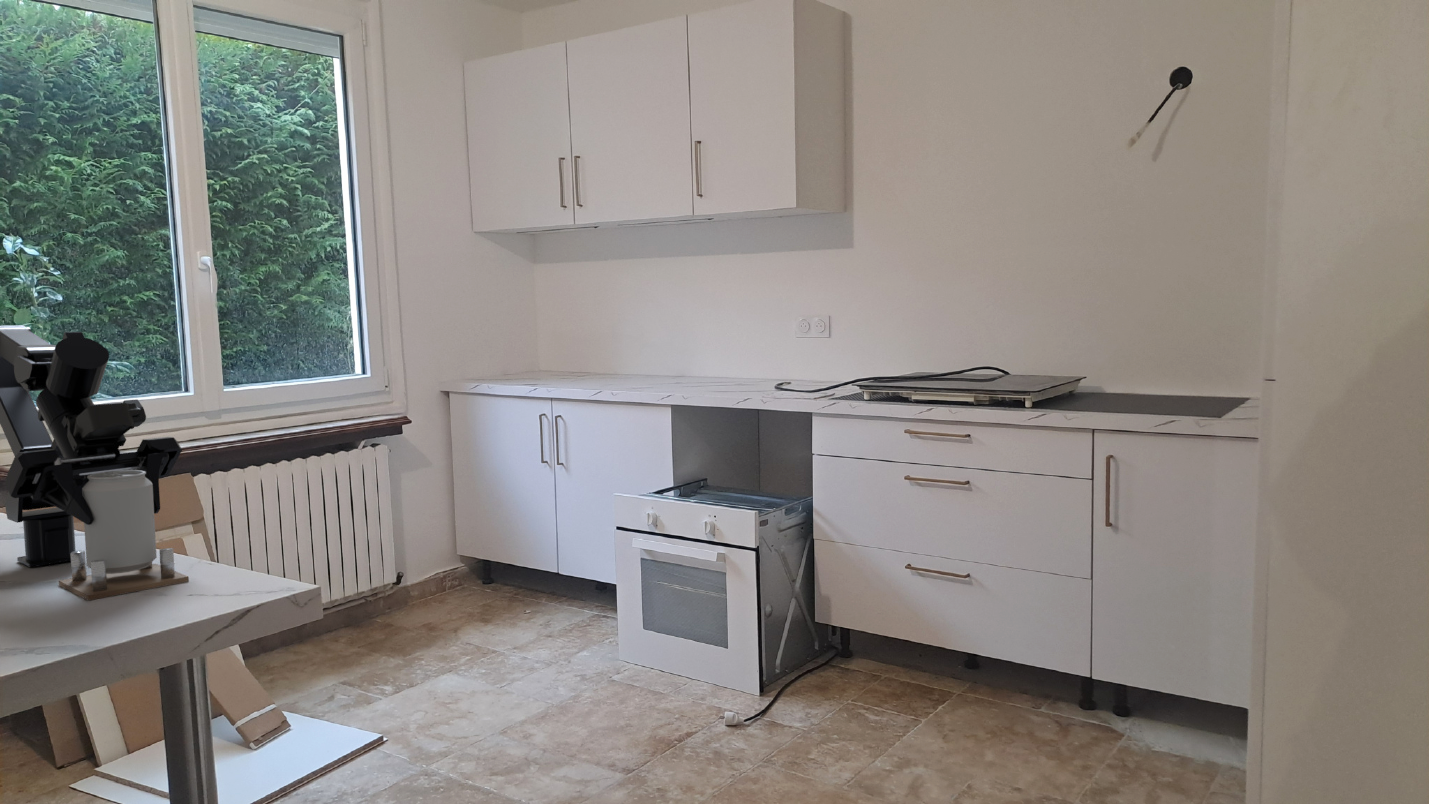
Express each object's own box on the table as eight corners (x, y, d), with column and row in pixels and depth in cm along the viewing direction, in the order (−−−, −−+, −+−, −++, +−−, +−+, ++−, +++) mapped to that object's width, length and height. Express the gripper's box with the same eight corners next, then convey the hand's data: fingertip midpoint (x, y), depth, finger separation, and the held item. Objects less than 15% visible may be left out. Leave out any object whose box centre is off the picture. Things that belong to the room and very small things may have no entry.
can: (124, 576, 117) (118, 477, 116) (71, 574, 118) (65, 476, 117) (171, 561, 124) (165, 468, 123) (120, 559, 126) (115, 467, 125)
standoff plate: (59, 585, 121) (56, 552, 120) (155, 568, 129) (153, 537, 129) (88, 600, 113) (86, 565, 113) (188, 581, 122) (186, 548, 121)
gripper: (9, 384, 113) (61, 486, 109) (170, 376, 129) (222, 464, 124) (-16, 447, 118) (32, 547, 113) (142, 431, 134) (191, 519, 129)
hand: (125, 516), depth 120 cm, fingers closed on can, 7 cm apart
